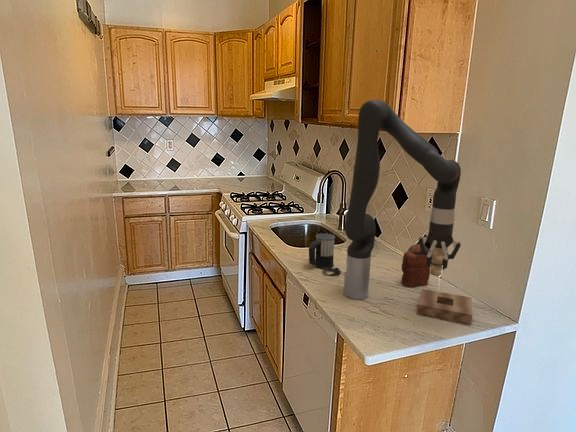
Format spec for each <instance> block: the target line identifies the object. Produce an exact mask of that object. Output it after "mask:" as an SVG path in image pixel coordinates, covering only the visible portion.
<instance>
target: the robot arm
mask: <svg viewBox="0 0 576 432" xmlns="http://www.w3.org/2000/svg"><path fill="white" fill-rule="evenodd" d="M380 129H381V130H383V131H385V133H387V134H389V135H390V136H391V137H393V139H394V140H395V141H396V142H397V143H398V144H399V146H400V147H401V148H402V150H404V152H405V153H406V154H407V155H409V157H410V158H412V159H413V160H414V161H416V162H417V163H418V164H420V165H421V166H422V168H424V170H425V171H426V172H427V173H428V174H429V175H430V176H431V177H432V178H433V180H435V181H436V182H437V185H436V189H435V190H434V193H433V197H432V202H431V203H432V205H431V210H430V217H429V225H428V226H429V227H428V233H427V235H426V236H420V237H419V238H418V244H420V248H421V252H422V254H423V255H426V256H427V262H426V264H427V265H428V267H430V268H431V255H432V252H433V250H434V248H435V247H437V248H442V249H443V254H444V260H443V265H442V271H444V270H446V269H447V268H448V263H449V260H454V259H455V257H456V255H457V253H458V252H459V250H460V248H461V246H462V245H461V244H462V242H460V241H457V240H454V238H453V232H454V224H455V219H456V218H455V217H456V216H455V215H456V213H455V212H456V211H455V208H456V199H457V191H458V189H459V184H460V182H461V181H460V179H461V176H462V175H461V173H462V169H461V165H460V163H459V162H457V161H456V160H453V159H445V158H444V156H442V155H441V154H440V153H439V151H438V149H437V148H436V147H435V146H434V145H433V144H432V143H431V142H429V141H428V140H426V139H425V138H424V137H423V136H421V135H420V134H419V133H417V132H416V131H415V130H414V129H412V128H411V127H410V126H409V125H408V124H406V123H405V122H404V120H403V119H402V118H401V117H399V115H398V114H397V113H396V112H395V111H394V110H393V108H392V107H391V106H390V105H389V104H388V103H387V102H385V101H383V100H378V99H377V100H376V99H375V100H367V101H365V102H364V103H363V104H362V105H361V106H360V109H359V111H358V119H357V145H356V150H355V159H354V160H355V161H354V165H353V166H354V167H353V173H352V174H353V175H352V183H351V190H350V199H349V203H348V209H347V213H346V217H345V222H344V232H345V235H346V237H347V238H348V239H349V240H350V241H351V243H350V244H349V245H348V247H347V249H346V250H347V251H346V253H347V254H346V269H345V272H344V280H343V282H344V283H343V296H346V297H348V298H349V299H352V300H364V299H367V298H368V297H369V288H370V287H369V286H370V275H371V274H370V273H371V259H372V257H371V256H372V252H373V250H374V247H375V239H376V231H377V230H376V229H377V228H376V227H377V226H376V222H375V219H374V217H373V216H372V215H370V214H368V213H367V208H368V205H369V202H370V200H371V198H372V197H373V195H374V193H375V190H376V189H377V186H378V183H379V178H380V171H381V160H380V155H379V150H378V149H379V148H378V141H379V140H378V139H379V135H380V134H379V133H380ZM426 242H428V244H429V245H430V248H428V249H429V252H428V251H426V248H425V246H426V245H425V244H426ZM451 245H452V247H453V249H452V252H451V253H449V251H448V250H449V249H448V248H449V247H450V246H451Z"/></svg>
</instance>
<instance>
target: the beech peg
mask: <svg viewBox="0 0 576 432" xmlns="http://www.w3.org/2000/svg"><path fill="white" fill-rule="evenodd" d="M443 260H444V254H443V249H442V248H437V247H435V248H434V250H433V252H432V255H431V267H430V275H432V276H435V277H439V276H440V277H441V276H442V271H443V270H442V268H443Z"/></svg>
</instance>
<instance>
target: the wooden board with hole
mask: <svg viewBox="0 0 576 432" xmlns="http://www.w3.org/2000/svg"><path fill="white" fill-rule="evenodd" d="M472 299H473V298H472V296H471V297H470V296H463V295H460V294H453V293H448V292H442V291H436V290H432V289H427V288H421V290H420V294H419V297H418V302H417V309H416V315H418V316H419V315H420V316H423V317H429V318H434V319H439V320H443V321H449V322H452V323H459V324H464V325H467V326H471V325H472V318H473V304H472V303H473V302H472V301H473V300H472Z"/></svg>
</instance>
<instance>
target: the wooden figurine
mask: <svg viewBox="0 0 576 432" xmlns="http://www.w3.org/2000/svg"><path fill="white" fill-rule="evenodd" d="M425 248H426V251H428V252H429V249H430V248H428V247H427V246H426V245H425ZM426 262H427V256H426V255H423V254H422V252H421V248H420V244H419V243H415V244H412V245H411V246H409V248H408V249H407V251H406V252H404V254H403V256H402V264H401V271H402V277H401V281H400V283H401V284H400V285H403V287H409V288H410V287H411V288H415V287H420V286H426V285H427V284H428V282H429V280H430V275H431V274H430V271H431V267H428V265H427V264H426Z"/></svg>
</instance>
